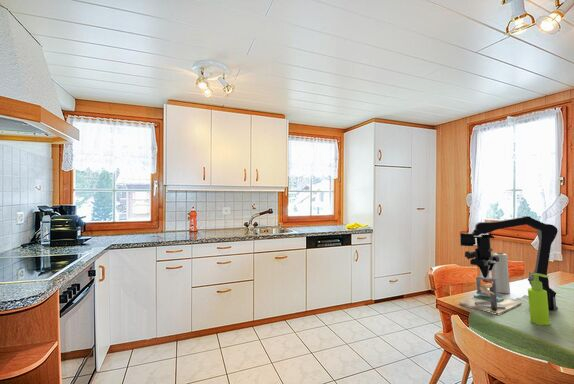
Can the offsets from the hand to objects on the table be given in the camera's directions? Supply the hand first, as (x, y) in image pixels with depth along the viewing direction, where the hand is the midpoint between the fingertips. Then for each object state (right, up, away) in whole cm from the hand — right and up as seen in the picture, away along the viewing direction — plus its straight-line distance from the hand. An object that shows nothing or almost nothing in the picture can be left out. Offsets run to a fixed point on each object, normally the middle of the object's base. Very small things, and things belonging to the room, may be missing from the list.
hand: (486, 277), depth 141 cm
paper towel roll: (+19, -13, +13) cm, 26 cm away
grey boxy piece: (0, -9, -1) cm, 9 cm away
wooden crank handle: (-1, -11, -7) cm, 13 cm away
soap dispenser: (+3, -10, -28) cm, 30 cm away
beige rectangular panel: (-2, -12, -6) cm, 13 cm away
